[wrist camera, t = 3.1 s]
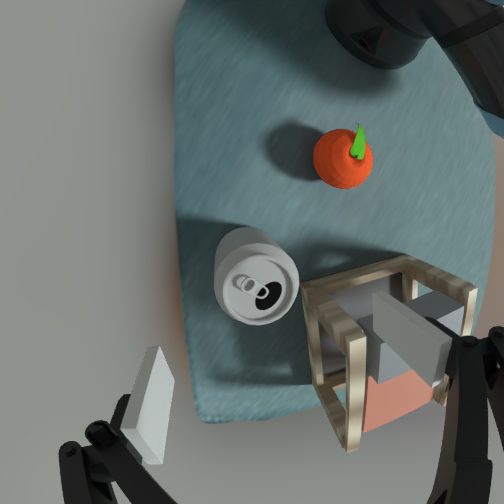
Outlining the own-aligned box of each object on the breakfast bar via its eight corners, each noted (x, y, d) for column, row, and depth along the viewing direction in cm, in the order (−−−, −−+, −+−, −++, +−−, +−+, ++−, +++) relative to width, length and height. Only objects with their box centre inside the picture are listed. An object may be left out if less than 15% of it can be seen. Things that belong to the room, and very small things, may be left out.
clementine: (316, 118, 31) (339, 104, 24) (363, 139, 32) (393, 132, 25) (297, 177, 33) (318, 175, 26) (347, 196, 34) (375, 199, 27)
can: (252, 296, 35) (268, 346, 24) (202, 264, 34) (195, 304, 22) (288, 248, 34) (322, 280, 23) (239, 213, 33) (250, 228, 21)
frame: (299, 282, 36) (347, 342, 21) (405, 253, 37) (478, 287, 22) (312, 384, 40) (345, 453, 26) (402, 351, 41) (451, 401, 27)
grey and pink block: (347, 322, 26) (370, 347, 21) (442, 287, 27) (470, 302, 22) (348, 421, 30) (362, 447, 25) (426, 385, 31) (445, 405, 26)
